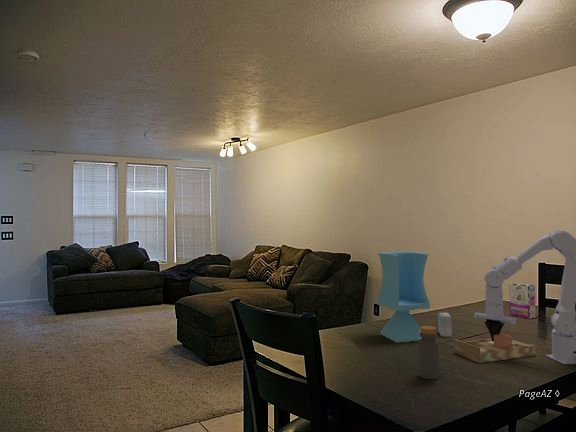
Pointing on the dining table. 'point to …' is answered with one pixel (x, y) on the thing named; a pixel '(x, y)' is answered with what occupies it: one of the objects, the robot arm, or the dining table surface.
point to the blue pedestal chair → (402, 293)
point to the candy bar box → (522, 300)
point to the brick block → (502, 341)
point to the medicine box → (444, 324)
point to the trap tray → (491, 350)
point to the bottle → (428, 353)
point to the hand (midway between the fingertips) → (494, 341)
